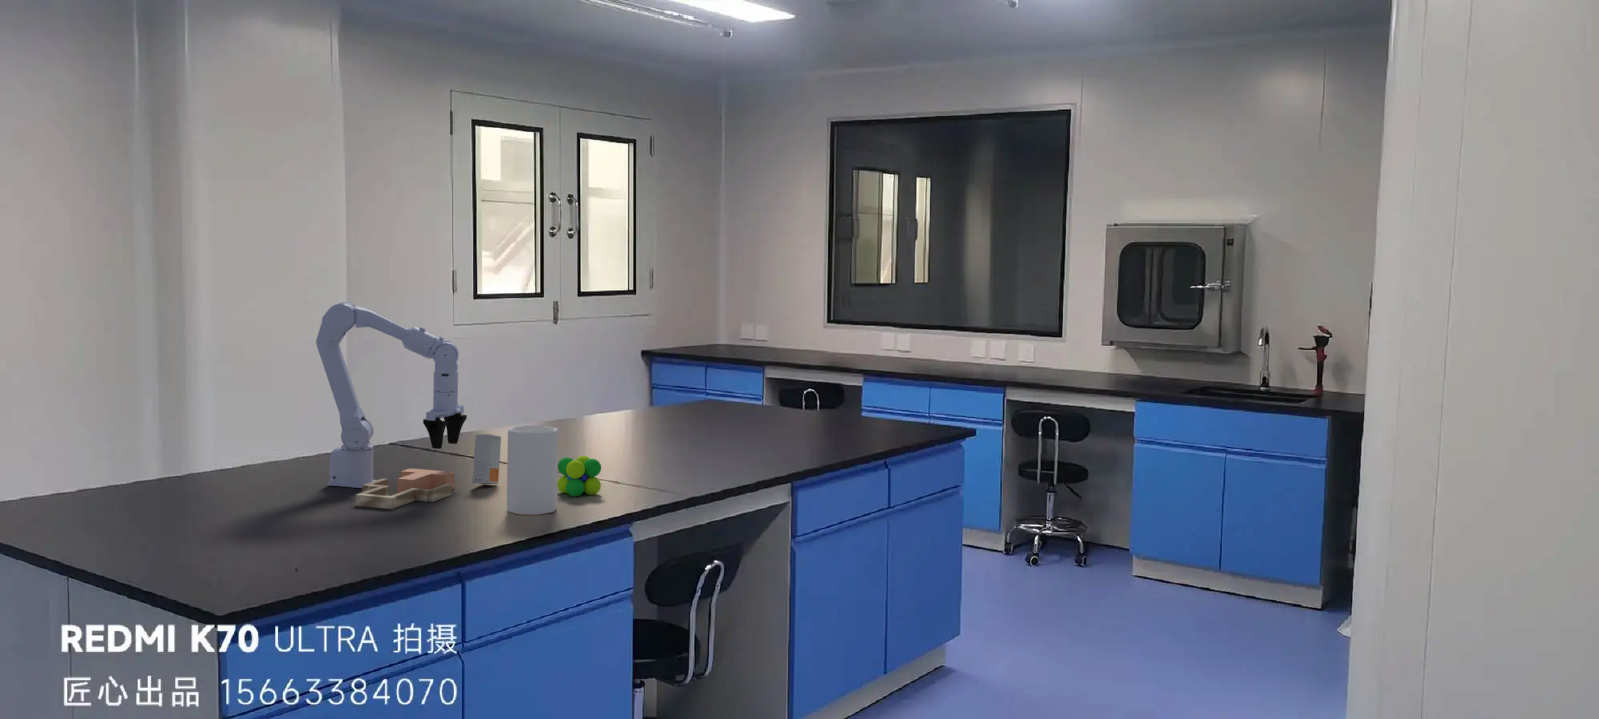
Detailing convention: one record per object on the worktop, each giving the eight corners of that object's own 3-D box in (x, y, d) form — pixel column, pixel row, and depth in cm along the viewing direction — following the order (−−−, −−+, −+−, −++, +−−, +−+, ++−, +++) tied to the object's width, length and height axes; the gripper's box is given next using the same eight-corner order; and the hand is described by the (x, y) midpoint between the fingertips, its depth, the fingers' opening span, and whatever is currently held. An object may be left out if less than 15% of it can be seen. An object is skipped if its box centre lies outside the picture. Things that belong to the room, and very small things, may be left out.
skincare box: (488, 483, 277) (491, 434, 278) (471, 483, 277) (474, 434, 279) (499, 484, 283) (501, 435, 284) (483, 483, 283) (485, 435, 285)
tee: (382, 494, 268) (382, 477, 268) (409, 484, 280) (409, 468, 279) (429, 498, 266) (429, 481, 265) (454, 488, 277) (454, 472, 277)
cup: (512, 517, 250) (514, 433, 248) (501, 506, 260) (502, 425, 258) (562, 513, 255) (564, 431, 253) (549, 503, 265) (551, 424, 263)
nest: (337, 504, 256) (337, 493, 256) (382, 488, 273) (382, 478, 273) (410, 510, 252) (411, 499, 252) (451, 494, 270) (451, 484, 270)
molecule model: (570, 499, 270) (603, 495, 276) (571, 462, 269) (604, 459, 275) (554, 492, 277) (586, 488, 282) (554, 456, 276) (587, 453, 282)
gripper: (445, 395, 272) (444, 451, 273) (475, 389, 286) (474, 442, 287) (418, 393, 273) (417, 449, 275) (449, 387, 288) (448, 440, 289)
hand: (444, 445), depth 281 cm, fingers open, 7 cm apart
